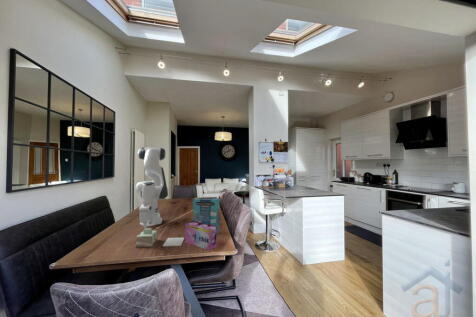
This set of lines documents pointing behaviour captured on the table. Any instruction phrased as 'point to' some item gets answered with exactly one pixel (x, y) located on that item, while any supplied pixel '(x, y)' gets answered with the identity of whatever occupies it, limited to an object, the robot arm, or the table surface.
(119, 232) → the table surface
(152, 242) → the box
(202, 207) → the game box
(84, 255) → the table surface
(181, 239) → the mat
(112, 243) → the table surface
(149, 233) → the lid
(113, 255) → the table surface
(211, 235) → the gum box
